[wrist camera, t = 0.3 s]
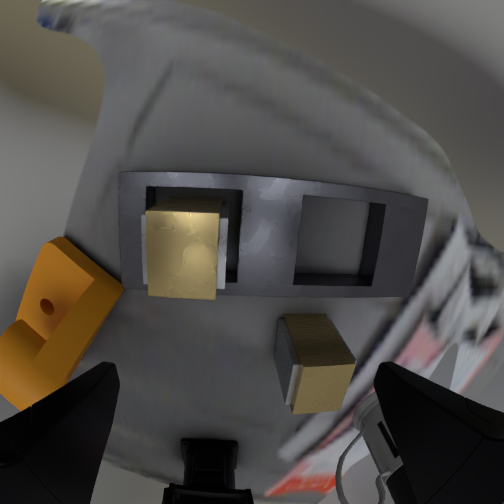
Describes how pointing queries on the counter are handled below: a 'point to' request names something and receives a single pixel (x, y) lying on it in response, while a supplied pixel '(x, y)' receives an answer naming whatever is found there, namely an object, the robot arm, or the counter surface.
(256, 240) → the tray
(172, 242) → the tan-capped ribbed block
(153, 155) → the counter surface
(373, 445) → the glass holder
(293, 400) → the gold metal block
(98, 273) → the bracket
